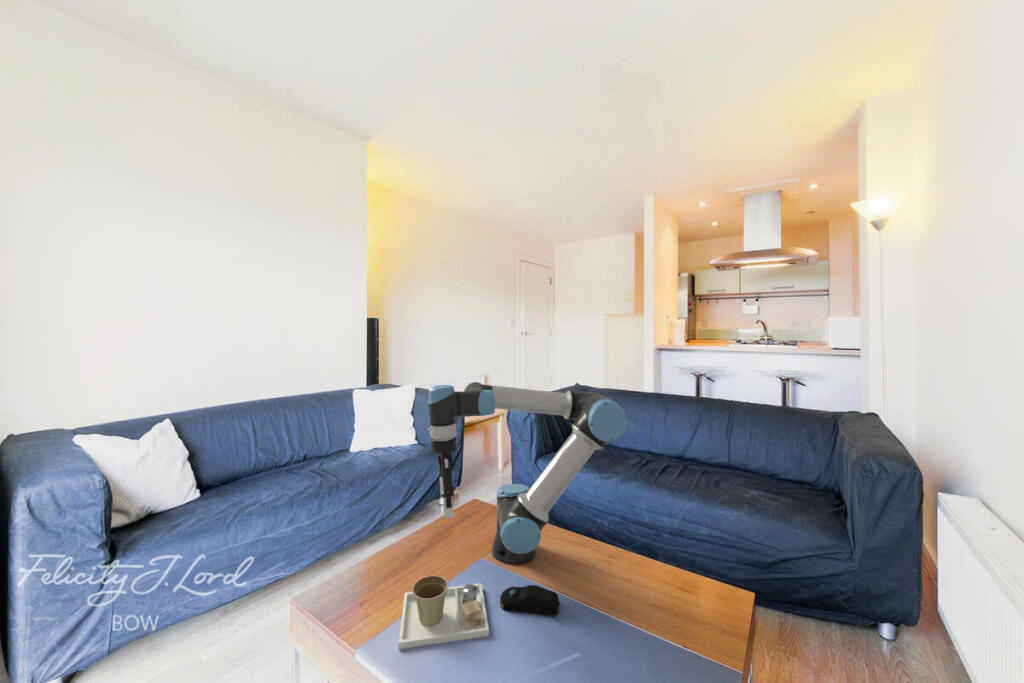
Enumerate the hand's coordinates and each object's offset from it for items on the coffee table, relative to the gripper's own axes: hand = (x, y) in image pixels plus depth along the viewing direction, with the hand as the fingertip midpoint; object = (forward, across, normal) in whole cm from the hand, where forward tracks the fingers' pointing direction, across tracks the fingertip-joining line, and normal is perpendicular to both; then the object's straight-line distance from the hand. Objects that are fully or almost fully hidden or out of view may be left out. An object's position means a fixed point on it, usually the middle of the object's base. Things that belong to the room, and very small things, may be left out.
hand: (447, 506), depth 121 cm
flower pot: (+23, +14, -7) cm, 28 cm away
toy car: (+25, +16, +20) cm, 36 cm away
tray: (+24, +14, -3) cm, 28 cm away
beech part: (+23, +18, +4) cm, 30 cm away
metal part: (+23, +11, +4) cm, 26 cm away
